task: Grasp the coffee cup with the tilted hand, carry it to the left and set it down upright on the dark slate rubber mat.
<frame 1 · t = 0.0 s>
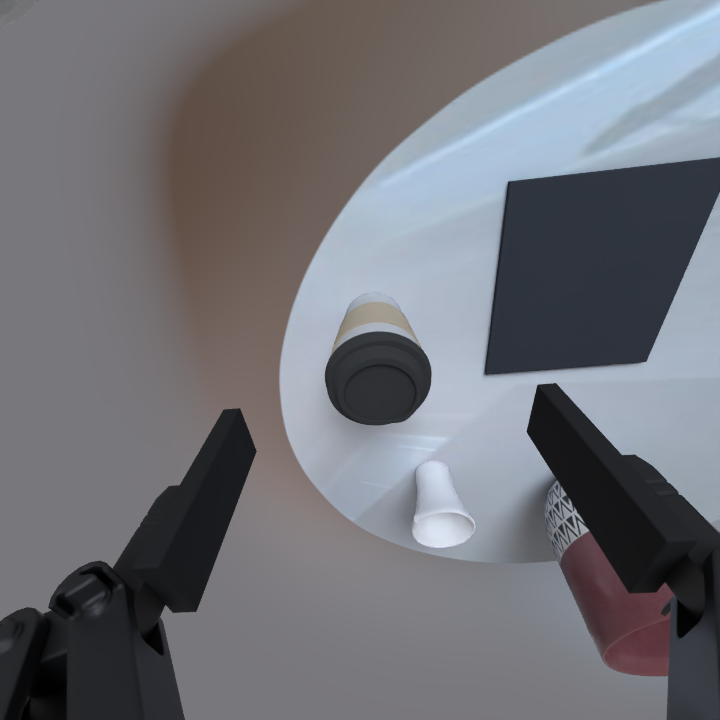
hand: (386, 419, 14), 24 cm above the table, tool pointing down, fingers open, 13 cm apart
cup: (429, 471, 52), on the table
coffee cup: (373, 319, 38), on the table
mat: (585, 283, 35), on the table
planter: (579, 477, 52), on the table
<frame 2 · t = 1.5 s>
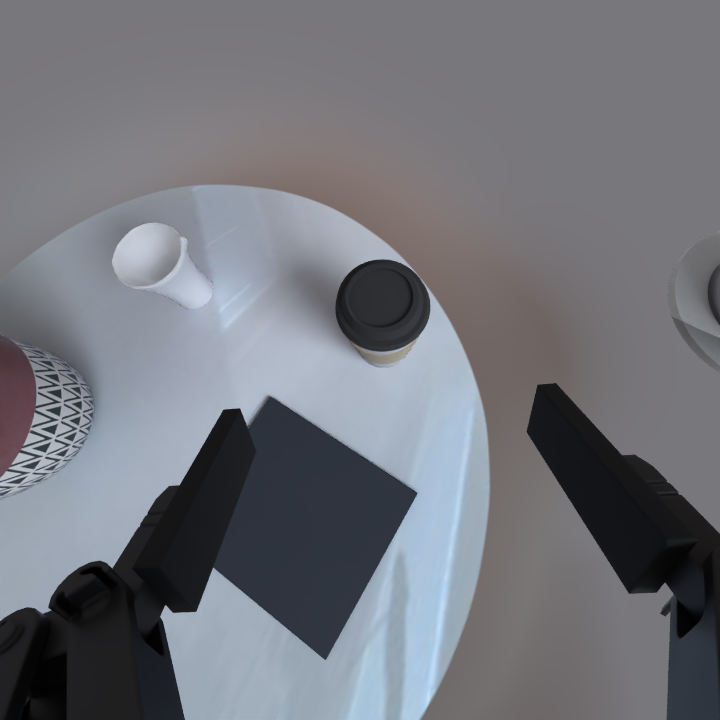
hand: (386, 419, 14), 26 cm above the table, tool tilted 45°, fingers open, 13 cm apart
cup: (197, 290, 47), on the table
coffee cup: (383, 343, 42), on the table
mat: (296, 514, 38), on the table
planter: (67, 422, 43), on the table
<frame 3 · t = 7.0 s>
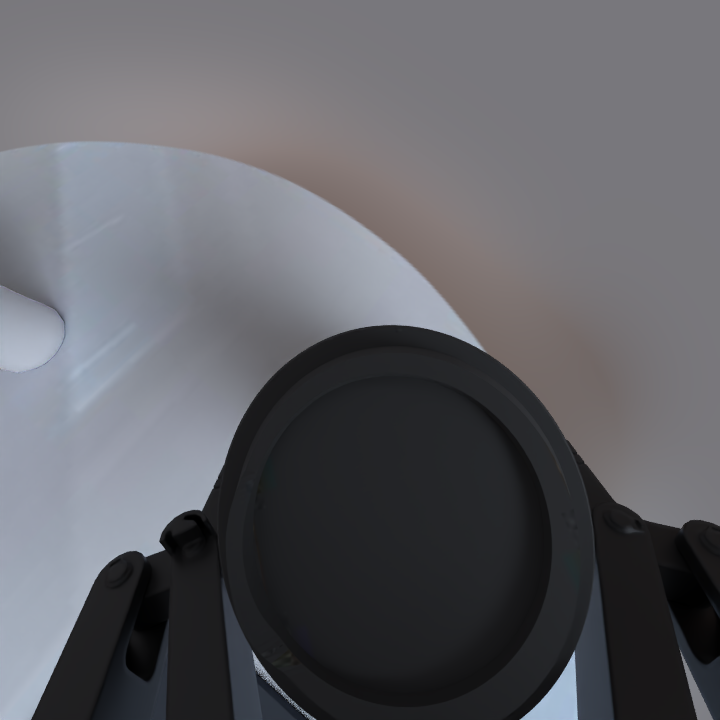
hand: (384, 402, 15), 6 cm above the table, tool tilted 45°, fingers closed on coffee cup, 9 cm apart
cup: (37, 334, 25), on the table
coffee cup: (389, 461, 20), on the table, touching gripper
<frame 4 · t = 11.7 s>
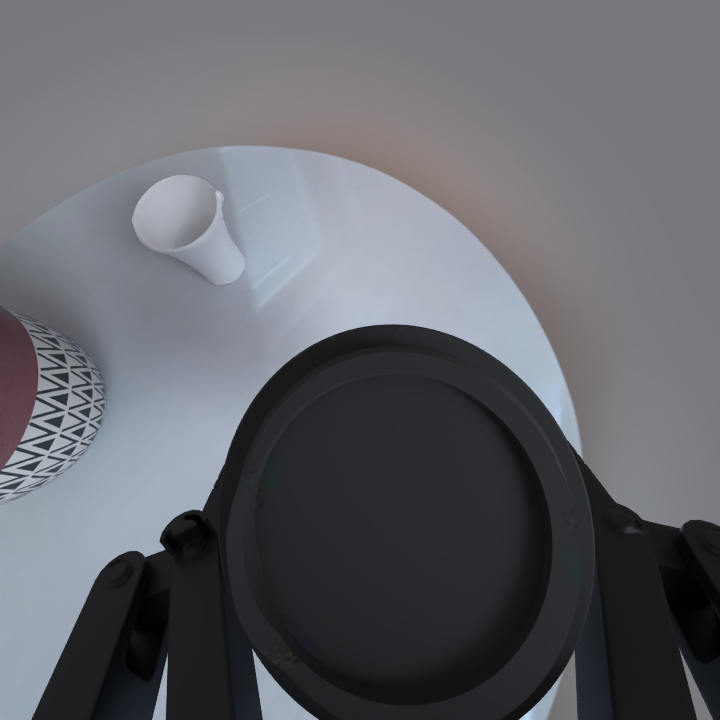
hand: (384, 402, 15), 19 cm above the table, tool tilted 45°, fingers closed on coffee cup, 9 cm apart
cup: (226, 264, 40), on the table
coffee cup: (389, 461, 20), point 13 cm above the table, touching gripper
planter: (72, 414, 37), on the table
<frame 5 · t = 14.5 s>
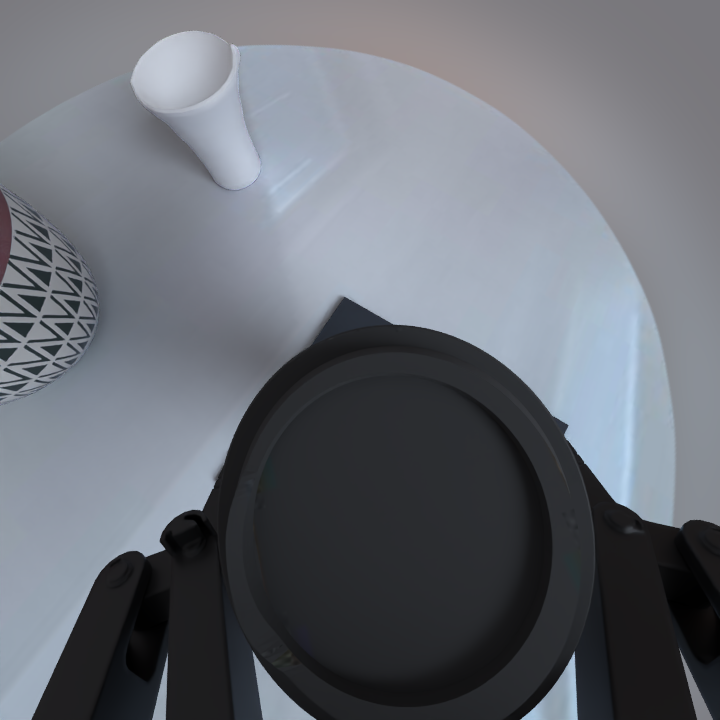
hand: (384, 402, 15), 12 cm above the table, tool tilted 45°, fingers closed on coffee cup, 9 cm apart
cup: (239, 169, 35), on the table
coffee cup: (389, 461, 20), point 6 cm above the table, touching gripper
mat: (388, 455, 26), on the table
planter: (61, 332, 32), on the table
when the fingers open (6 cm above the table, at t = 16.7 s): coffee cup stays where it is, resting on mat.
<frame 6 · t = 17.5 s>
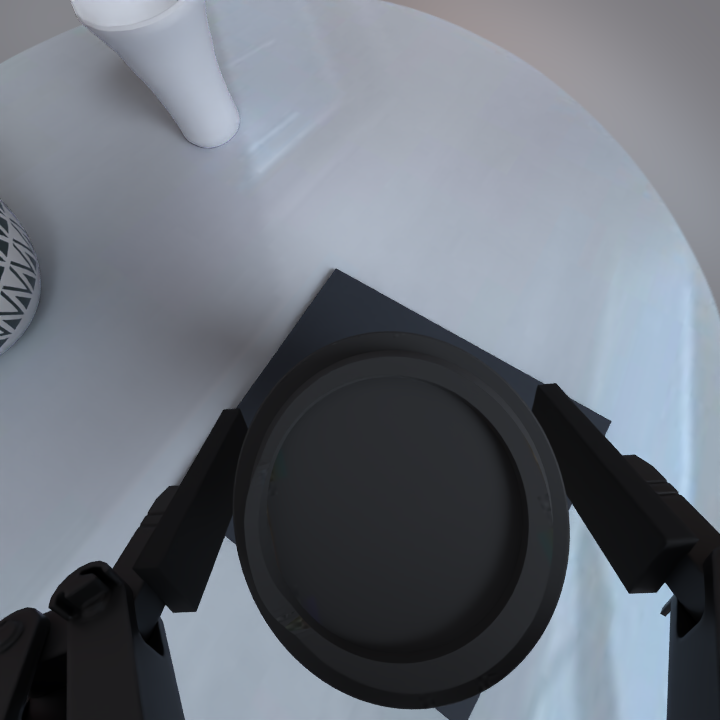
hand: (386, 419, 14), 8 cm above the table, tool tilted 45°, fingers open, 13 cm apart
cup: (214, 125, 30), on the table
coffee cup: (388, 459, 21), resting on mat
mat: (388, 458, 21), on the table
planter: (0, 312, 27), on the table
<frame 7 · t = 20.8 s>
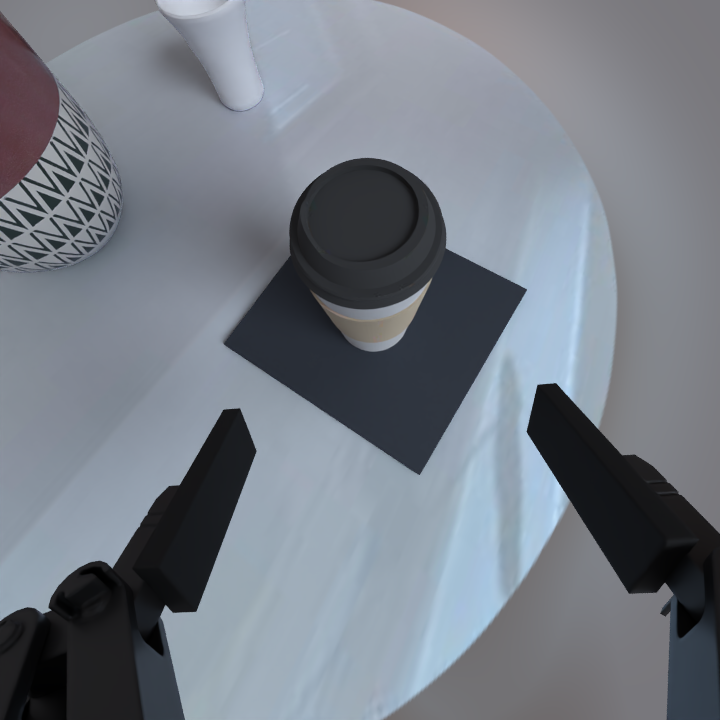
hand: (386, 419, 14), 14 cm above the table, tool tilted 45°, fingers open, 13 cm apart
cup: (244, 94, 39), on the table
coffee cup: (373, 318, 30), resting on mat
mat: (373, 318, 31), on the table
planter: (86, 230, 36), on the table
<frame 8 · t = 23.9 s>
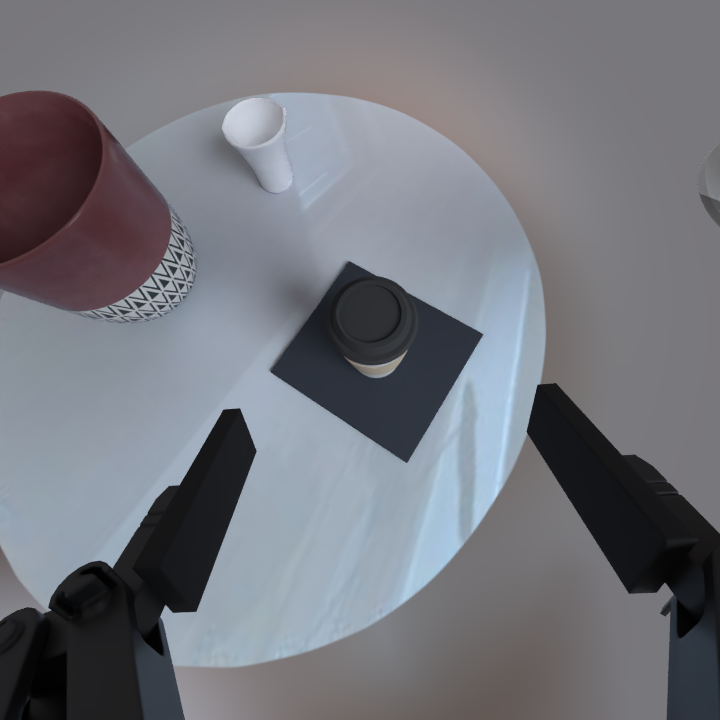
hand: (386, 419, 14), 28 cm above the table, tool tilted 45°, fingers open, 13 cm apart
cup: (278, 179, 52), on the table
coffee cup: (375, 353, 43), resting on mat
mat: (375, 354, 44), on the table
planter: (164, 285, 49), on the table
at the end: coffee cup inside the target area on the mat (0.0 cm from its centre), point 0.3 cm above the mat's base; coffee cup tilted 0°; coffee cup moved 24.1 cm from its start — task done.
